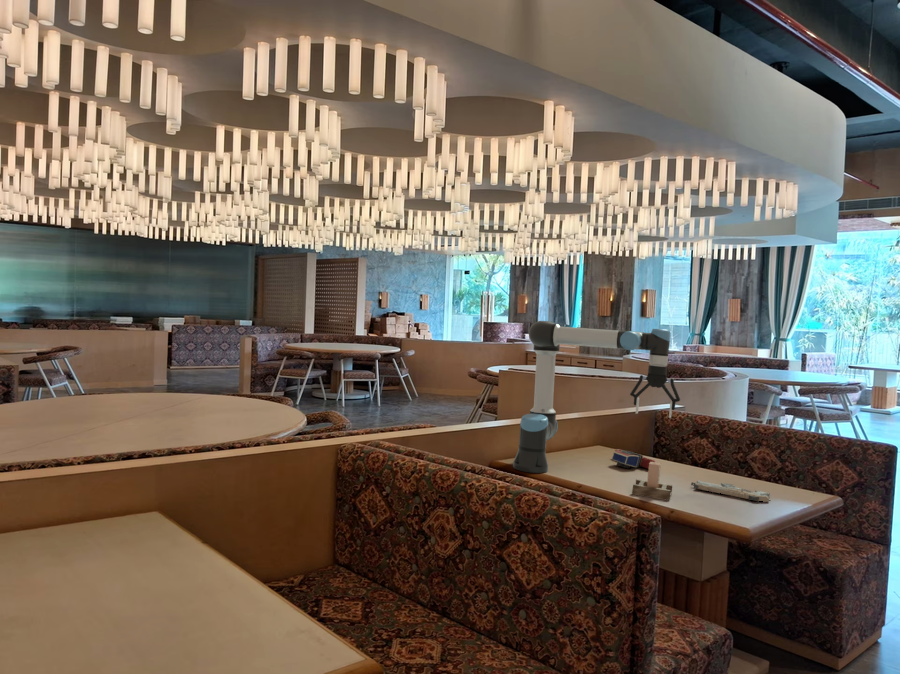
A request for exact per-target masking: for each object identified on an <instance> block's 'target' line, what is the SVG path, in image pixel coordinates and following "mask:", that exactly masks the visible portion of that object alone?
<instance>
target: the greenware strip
mask: <svg viewBox="0 0 900 674" xmlns="http://www.w3.org/2000/svg"><path fill="white" fill-rule="evenodd" d="M661 465H662V463H660V462H656V461H655V462H650V463H649V469H648V472H647V480H646V481H647V486H649V487H655V488H659V483H660V477H661V468H662V467H661Z"/></svg>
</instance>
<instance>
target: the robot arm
mask: <svg viewBox="0 0 900 674" xmlns="http://www.w3.org/2000/svg"><path fill="white" fill-rule="evenodd" d="M528 338H529V341H530V342H531V343H532V344H533V352H534V353H535V354H536V359H535V361H536V362H535V376H534V377H535V378H534V379H535V380H534V392H533V393H534V395H533V407H532V408H530V410H529V413H526V414H524V415H522V416H521V419H520V422H519V423H520V424H519V425H520V428H519V436H518V437H519V439H518V450H517V452H516V455H515V457H514V460H513V462H512V468H513V469H514V470H517V471H518V472H519V471H521V472H525V473H533V474H543V473H542V472H544V473H547V472H548V471H549V464H548V460H547V454H546V448H547V447H546V446H547V441H549V440H551V439H553V437H554V436H555V435H556V433H557V431H558V428H559V427H558V425H559V424H558V421H557V419H556V417H557V412H556V410H555V409H554V393H555V392H554V390H555V373H556V355H557V354H559V353H560V346H561V345H565V346H566V345H567V346H576V347H577V346H581V347H593V348H606V349H619V350H627V351H634V350H641V351H649V358H648V359H649V360H648V364H649V365H648V370H647V375H646V376H645V375H643V374H641V375H639V379H638V381H637V382H636V384H635V386H634V387H633V389H632V390H631V392H630V393H629V395H630V396H631V397H633V398H634V399H633V405H634V406H635V414H639V408H640V407H639V405H640V397H639V396H640V395H641V394H643V392H645V391H646V390H647V388H649V387H650V388H651V387H652V388H658V389H660V388H662V390H663V391H664V392H665V393H666V395H667V396H668V398H669V399H670V400H671V401H670V404H669V411H668V413H669V414H668V418H669V419H671V418H672V413H673V411H674V410H675V409H676V403H678V402H681V397H680V396H679V393H678V390H677V387H676V386H675V380H674V378H673V377H672V378H668V377H667V372H668V361H669V351H670V342H671V331H670V330H669V329H661V328H652V330H651V332H642V331H633V330H616V329H615V330H614V329H602V328H601V329H600V328H586V327H572V326H560V324H559V323H556V322H555V321H550V320H538V321H536V322H534V323H532V325H531V326H530V328H529V330H528ZM645 380H646V381H647V384H645V385H644V386H643V387H642V388H641V389H640V390H639V391H638V392H637V390H638V389H639V387H640V386H641V384H642V382H644V381H645ZM667 382H668V384H670V386H671V389H672V391H673V394H674V396H675V397H674V396H673V394H672V393H671V392H670V390H669V388H668V387H667V386H666V385H665V384H666V383H667Z"/></svg>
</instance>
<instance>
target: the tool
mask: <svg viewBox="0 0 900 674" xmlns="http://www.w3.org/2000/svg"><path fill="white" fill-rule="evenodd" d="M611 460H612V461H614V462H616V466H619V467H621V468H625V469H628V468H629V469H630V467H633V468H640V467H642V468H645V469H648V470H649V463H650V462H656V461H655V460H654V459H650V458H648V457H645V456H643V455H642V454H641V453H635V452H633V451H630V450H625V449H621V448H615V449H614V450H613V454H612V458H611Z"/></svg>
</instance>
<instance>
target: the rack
mask: <svg viewBox="0 0 900 674" xmlns="http://www.w3.org/2000/svg"><path fill="white" fill-rule="evenodd" d="M647 481H648V480H644V479H643V480H642V479H635V483H633V484H632V491H631V494H632V495H634V494H635V495H636V496H641V497H646V498H653V499H658V500H665V501H670V500H671V497H672V494H673V484H668V483H662V482H659V488H655V487H649V486H647Z"/></svg>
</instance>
